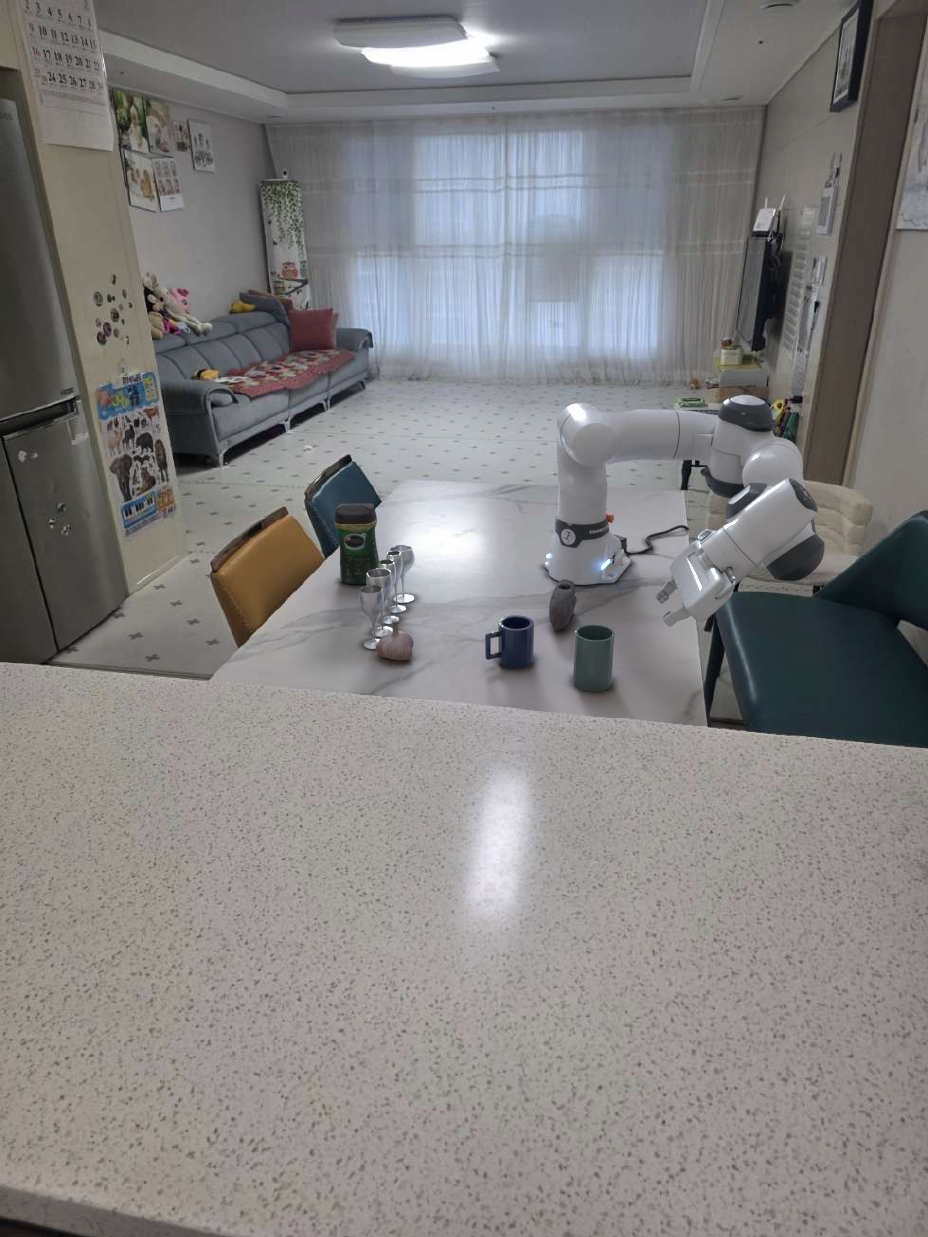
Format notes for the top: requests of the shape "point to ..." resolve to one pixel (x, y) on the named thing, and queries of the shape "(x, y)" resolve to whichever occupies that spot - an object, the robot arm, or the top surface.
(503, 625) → the mug
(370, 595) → the goblet set
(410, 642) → the garlic bulb
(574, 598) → the perforated stone tool
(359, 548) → the coffee jar
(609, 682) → the green cup
